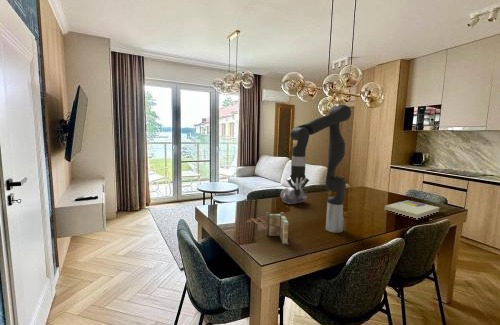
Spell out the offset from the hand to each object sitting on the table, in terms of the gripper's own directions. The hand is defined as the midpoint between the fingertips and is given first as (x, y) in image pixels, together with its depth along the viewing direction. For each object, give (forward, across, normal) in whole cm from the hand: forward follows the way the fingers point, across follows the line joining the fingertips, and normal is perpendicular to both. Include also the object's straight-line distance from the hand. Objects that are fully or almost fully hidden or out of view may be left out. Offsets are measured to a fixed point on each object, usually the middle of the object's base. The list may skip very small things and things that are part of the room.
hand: (297, 195), depth 135 cm
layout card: (+24, -7, +1) cm, 26 cm away
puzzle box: (+26, +113, +30) cm, 120 cm away
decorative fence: (+26, -12, +22) cm, 36 cm away
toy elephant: (+25, +28, +68) cm, 78 cm away
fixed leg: (+24, -10, +6) cm, 27 cm away
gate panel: (+24, -8, -2) cm, 25 cm away
